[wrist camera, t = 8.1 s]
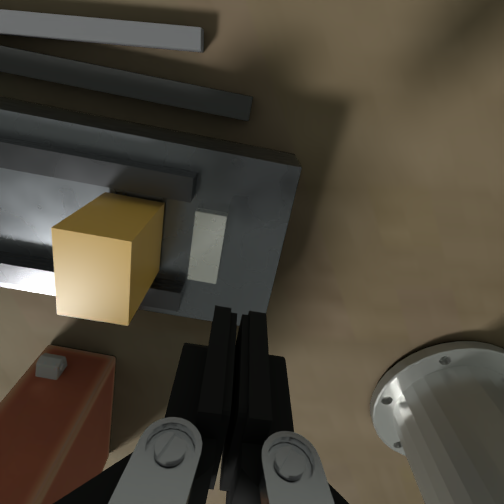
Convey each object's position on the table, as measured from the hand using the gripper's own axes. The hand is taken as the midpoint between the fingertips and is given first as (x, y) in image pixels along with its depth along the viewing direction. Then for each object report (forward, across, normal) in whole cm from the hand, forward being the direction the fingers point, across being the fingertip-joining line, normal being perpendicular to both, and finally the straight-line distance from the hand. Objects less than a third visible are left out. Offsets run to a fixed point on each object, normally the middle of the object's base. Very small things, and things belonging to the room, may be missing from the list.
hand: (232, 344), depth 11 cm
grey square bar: (+12, +11, -8) cm, 18 cm away
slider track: (+12, +10, +1) cm, 16 cm away
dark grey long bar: (+12, +9, -6) cm, 16 cm away
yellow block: (+8, +6, +1) cm, 10 cm away
